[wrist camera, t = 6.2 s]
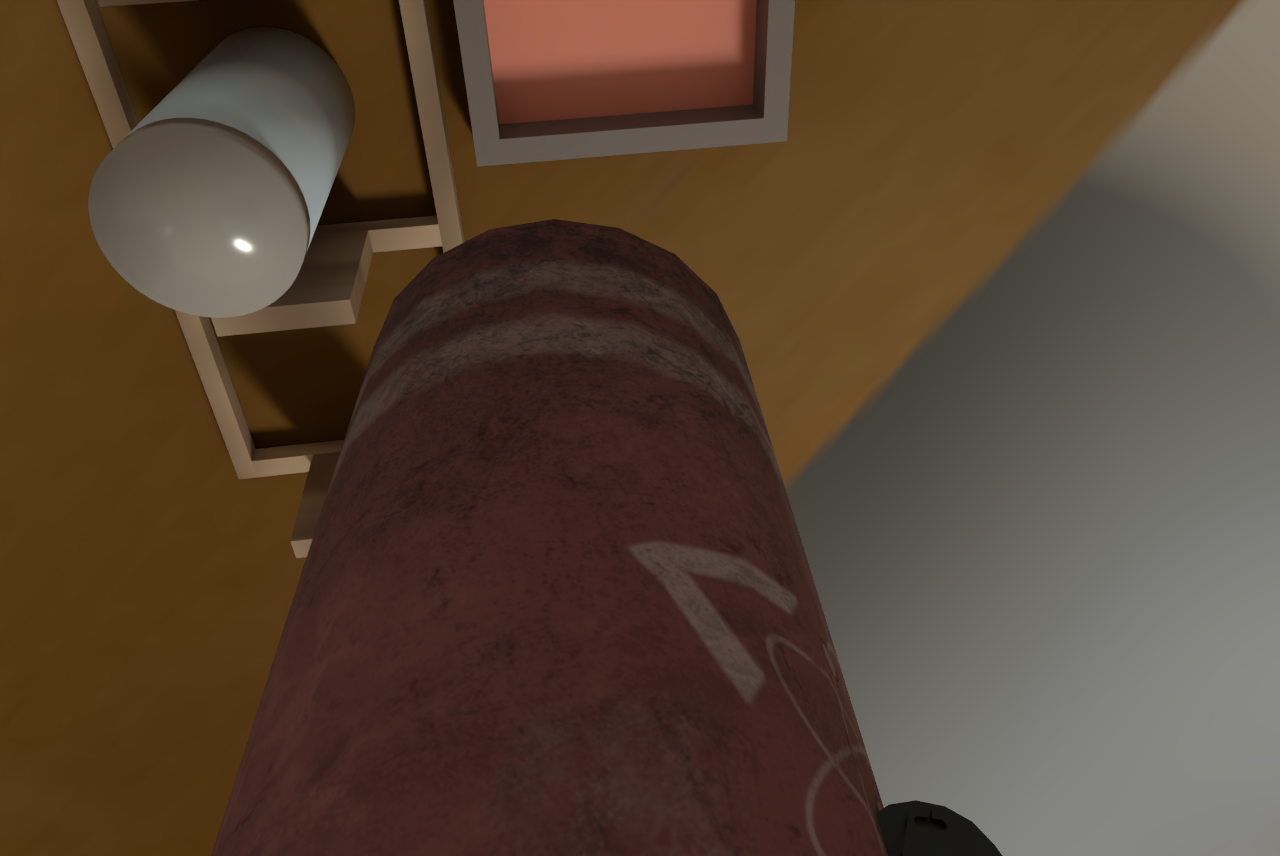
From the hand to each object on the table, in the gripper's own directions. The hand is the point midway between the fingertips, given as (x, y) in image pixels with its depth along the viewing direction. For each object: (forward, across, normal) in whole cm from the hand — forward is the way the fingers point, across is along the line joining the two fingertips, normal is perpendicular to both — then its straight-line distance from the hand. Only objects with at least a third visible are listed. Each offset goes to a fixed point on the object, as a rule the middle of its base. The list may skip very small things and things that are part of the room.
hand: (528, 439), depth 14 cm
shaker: (+19, -8, 0) cm, 21 cm away
